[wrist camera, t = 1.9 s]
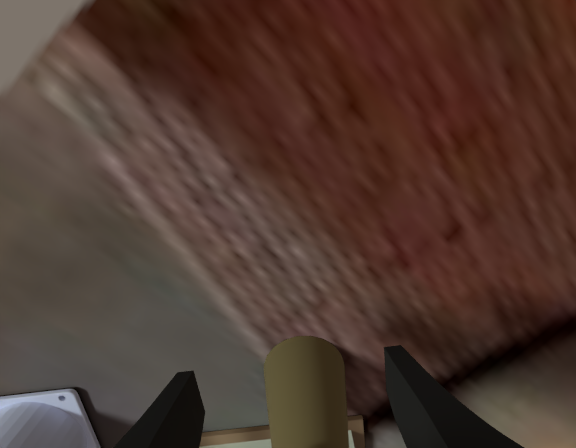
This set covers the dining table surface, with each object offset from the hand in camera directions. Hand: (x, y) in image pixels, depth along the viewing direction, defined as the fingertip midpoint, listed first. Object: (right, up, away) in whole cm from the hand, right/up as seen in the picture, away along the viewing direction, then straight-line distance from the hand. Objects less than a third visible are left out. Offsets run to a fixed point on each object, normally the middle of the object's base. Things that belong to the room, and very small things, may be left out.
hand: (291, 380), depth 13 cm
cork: (+1, -5, +13) cm, 14 cm away
